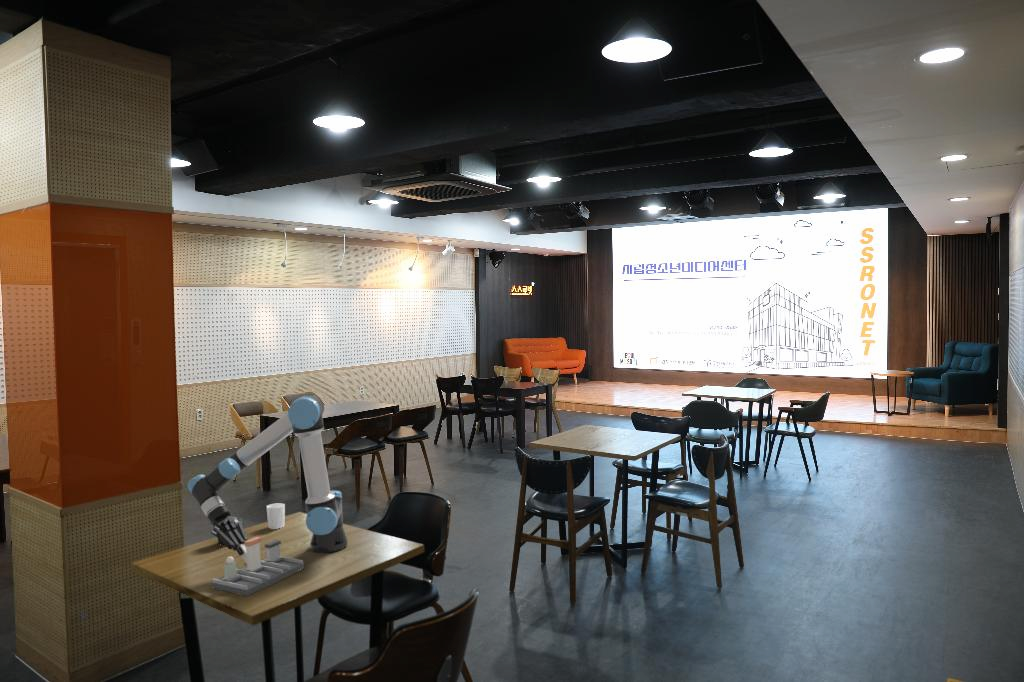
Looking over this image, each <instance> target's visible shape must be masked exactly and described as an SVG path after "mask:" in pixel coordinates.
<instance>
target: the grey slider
mask: <svg viewBox="0 0 1024 682" xmlns="http://www.w3.org/2000/svg"><path fill="white" fill-rule="evenodd" d="M281 543H282V540H279V539H274V540H272V541H270V542H268V543H266V544H264V548H265V549H266V558H267V559H266V558H265V559H266V560H265V561H267V562H272V563H276V562H278V561H280V560H282V557H280V556H281V549H280V548H281V547H280V545H281Z"/></svg>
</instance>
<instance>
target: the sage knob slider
mask: <svg viewBox="0 0 1024 682" xmlns="http://www.w3.org/2000/svg"><path fill="white" fill-rule="evenodd" d="M225 562H226V564H224V565H223V570H224V572H223V573H224V576H223V577H224V578H222V577H221V578H222V579H221V580H223V581H227V582H234V581H236V580H238V579H240V578H241V577H240V575H237V569H238V568H237V561H235V558H234V557H233V556H231V555H230V556H227V558H226V560H225Z"/></svg>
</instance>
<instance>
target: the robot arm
mask: <svg viewBox="0 0 1024 682" xmlns="http://www.w3.org/2000/svg"><path fill="white" fill-rule="evenodd" d="M324 411H325V404H324V401H323V400H322V398H321V397H320V396H318V395H317V394H314V393H305V394H303V395H301V396H299V397H298V398H296V399H295V400H293V401H292V402H291V404H290V406H289V408H288V409H287V411H286V413H285V414H284V415H283V416H281V417H280V418H279V419H277V420H276V421H275V422H273V423H272V424H271V425H269V426H268V427H267V428H266V429H264V430H263V431H261V432H260V433H258V435H256V436H255V437H253V438H252V439H251V440H249V441H248V442H247V443H246V444H244V445H243V446H242V447H241V448H239V449H237V451H235V452H234V453H233V454H231V455H229V456H228V457H227V458H225V459H224V460H222V461H220V463H219V464H218V465H216V467H214V468H213V469H212V470H211V471H210V472H209V473H208V474H206V475H205V474H204V473H203V474H198V475H196V476H195V477H192V478H191V479H190V480H189V481H188V483H187V488H188V490H189V492H190V494H191V496H192V498H193V499H194V500H195V501H196V503H197V504H198V505H199V507H200V509H201V511H202V512H203V513H204V515H205V516H206V517H207V519H208V521H209V522H210V524H211V525H213V528H212V530H211V532H210V535H211V534H212V535H213V536H214V537H216V538H217V540H218V539H219V540H220V541H221V542H222V543H223V544H224V545H225V546H224V547H225V548H227V549H228V550H232V551H236V553H237V554H238V555H239V556H241V557H242V559H243V560H244V562H245V563H246V564H247V557H246V546H245V545H244V541H247V540H249V538H248V535H247V534H246V531H245V529H244V526H243V522H242V521H243V519H241V518H238V519H237V520H235V519H234V518H233V517H234V516H232V514H231V511H230V509H229V508H228V507H227V506H226V505H225V504H226V503H225V502H224V501H223V500H222V498H221V497H220V494H219V493H218V492H219V491H220V490H221V489H222V488H223V487H225V486H226V485H227V484H228V483H229V482H230V481H232V480H233V479H234V478H235V477H237V475H238V474H240V473H241V472H242V471H243V470H245V469H246V468H248V467H249V466H250V465H251V464H252V463H254V462H255V461H256V460H258V459H259V458H260V457H262V456H263V455H264V454H266V453H267V452H268V451H270V450H271V449H272V448H273V447H275V446H276V445H278V444H279V443H280V442H282V441H283V440H285V439H286V438H287V437H288V436H289V435H291V434H292V433H293V434H294V435H295V436H296V437H297V438H298V442H299V443H298V445H299V449H300V455H301V456H300V457H301V461H302V462H301V463H302V468H303V473H304V479H305V484H306V491H307V498H306V499H305V501H304V505H305V511H306V517H305V525H306V527H307V529H308V530H309V532H311V533H312V534H311V535H312V536H311V539H310V541H309V548H310V551H312V550H313V551H312V552H314V551H315V552H314V553H319V552H327V553H333V552H332V551H334V552H338V551H340V550H339V549H341V550H343V549H342V548H344V547H345V546H347V545H349V539H348V536H347V533H346V531H345V529H344V524H343V523H344V522H343V520H344V519H343V496H342V494H343V493H342V492H341V491H339V490H331V485H330V480H329V474H328V469H327V463H326V457H325V456H326V455H325V450H324V444H323V438H322V437H323V436H322V432H323V430H324V429H325V425H324V418H323V414H324ZM234 524H235V525H234ZM347 547H348V546H347ZM344 549H345V548H344ZM337 550H338V551H337Z"/></svg>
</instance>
